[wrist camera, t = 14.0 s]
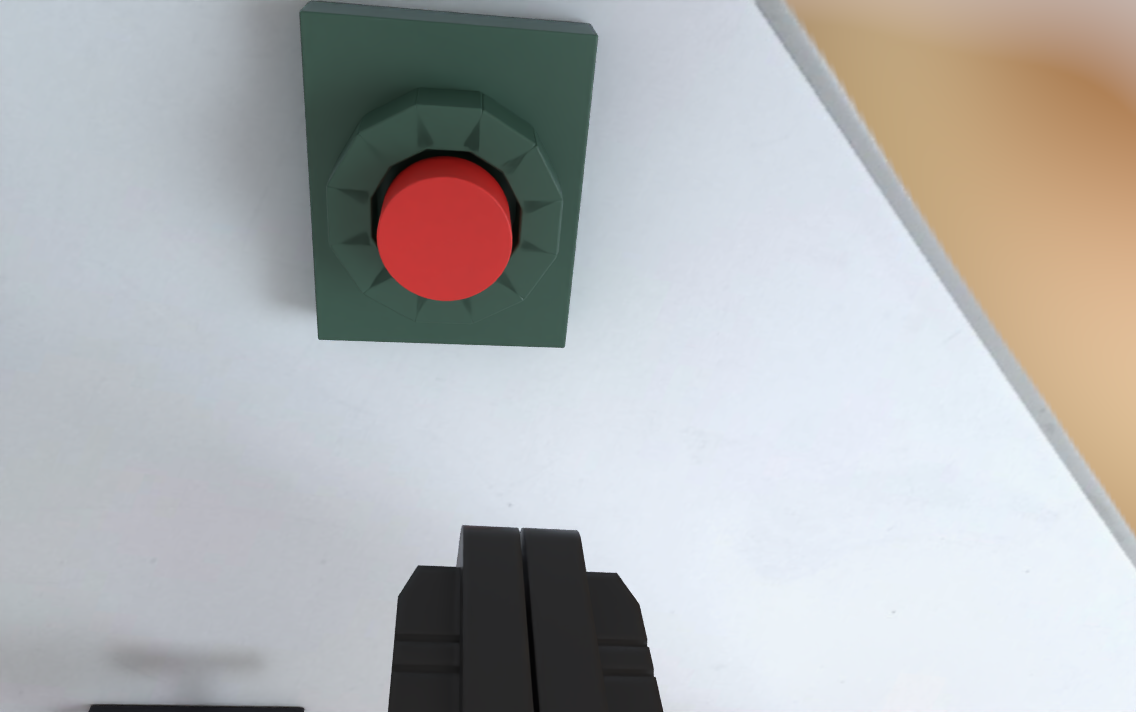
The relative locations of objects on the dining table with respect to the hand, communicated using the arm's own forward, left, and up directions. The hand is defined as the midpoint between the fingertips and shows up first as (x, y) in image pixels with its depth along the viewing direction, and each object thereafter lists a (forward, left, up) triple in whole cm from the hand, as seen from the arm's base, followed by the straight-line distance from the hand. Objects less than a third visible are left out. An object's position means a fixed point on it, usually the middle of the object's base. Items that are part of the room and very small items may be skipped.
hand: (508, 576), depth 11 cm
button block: (0, -2, -18) cm, 18 cm away
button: (0, -2, -15) cm, 15 cm away
